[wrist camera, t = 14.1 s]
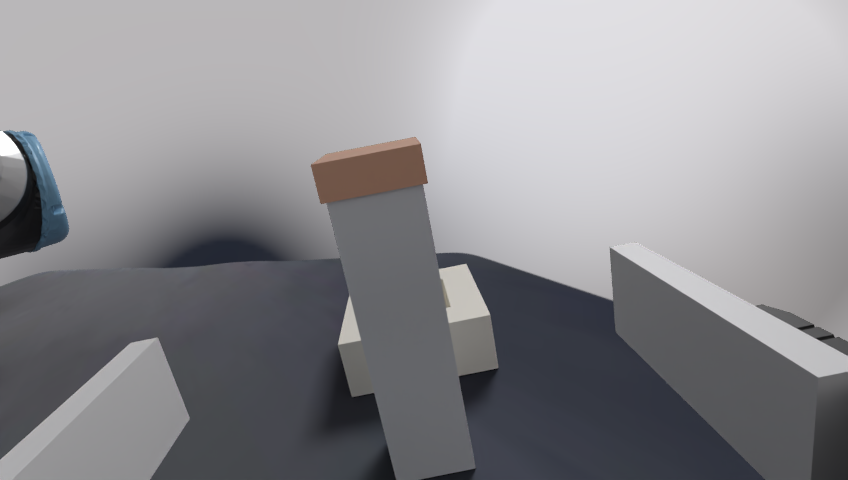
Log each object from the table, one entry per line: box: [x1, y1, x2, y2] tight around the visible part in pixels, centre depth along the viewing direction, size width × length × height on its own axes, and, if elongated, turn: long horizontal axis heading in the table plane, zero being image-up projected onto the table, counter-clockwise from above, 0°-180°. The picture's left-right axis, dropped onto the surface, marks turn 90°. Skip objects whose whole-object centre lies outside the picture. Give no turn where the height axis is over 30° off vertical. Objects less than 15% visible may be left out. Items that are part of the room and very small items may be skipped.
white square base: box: [338, 264, 498, 397], centre depth 35 cm, size 10×10×4 cm
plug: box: [311, 137, 476, 480], centre depth 22 cm, size 4×4×16 cm
